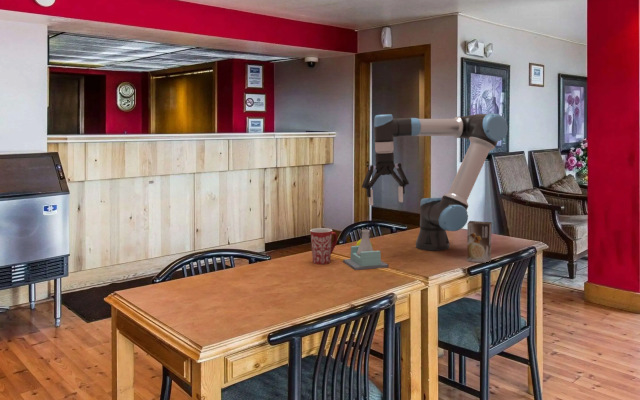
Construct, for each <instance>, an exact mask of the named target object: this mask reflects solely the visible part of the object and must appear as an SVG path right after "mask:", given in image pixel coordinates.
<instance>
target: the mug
mask: <svg viewBox="0 0 640 400" xmlns="http://www.w3.org/2000/svg"><path fill="white" fill-rule="evenodd" d="M309 231H310V241H311V254H312V255H311V257H312V263H313V264H316V265H326V264H330V263H331V258H332V256H331V255H332V253H333V252H334V249H335V248H336V245H337V242H338V235H337V232H335V231H333V229H331V228H327V227H317V228H311V229H310V230H309ZM332 236H333V240H332ZM332 241H333V242H332Z"/></svg>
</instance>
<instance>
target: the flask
mask: <svg viewBox="0 0 640 400" xmlns="http://www.w3.org/2000/svg"><path fill="white" fill-rule="evenodd" d="M360 239H361V242H360V245H359V248H358V251H357V253H356V254H357V255H359V256H360V252H366V251H374V249H373V244H372V245H371V243H372V241H371V239H370V230H369V229H362V230H361V238H360ZM370 241H371V242H370Z"/></svg>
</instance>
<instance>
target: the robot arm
mask: <svg viewBox="0 0 640 400" xmlns="http://www.w3.org/2000/svg"><path fill="white" fill-rule="evenodd" d="M373 120H374V123H373V127H374V146H375V147H374V149H375V152H376V153H375V155H374V156H375V157H374V158H375V165H372V164H370V165H368V171H367V172H366V174H365V177H364V180H363V183H362V185H361V188H363V189H365V190H366V191H365V192H366V197H367V198H368V205H370V206H374V193H373V192H374V190H373V189H372V188H373V186H374V185H375V184H376V182H377V181H378V179H379V178H380V177H381V176H386V175H387V176H391V177H392V178H393V179H394V180H395V181H396V183H398V185H399V186H398V187H397V190H398V192H397V193H398V202H399V203H404V195H405V194H406V193H405V187H406V186H407V185H410V183H409V180H408V179H407V176H406V174H405V172H404V170H403V168H402V163H401V162H396V163H395V153H394V150H395V149H394V138H402V137H435V136H436V137H439V136H440V137H441V136H442V137H445V136H446V137H452V136H453V137H454V138H455V139H468V140H469V142H470V144H469V146H468V148H467V150H466V153H465V155H464V158H463V160H462V162H461V164H460V165H459V168H458V171H457V172H456V175H455V177H454V179H453V182H452V184H451V186H450V188H449V190H448V192H447V193H445V194H443V195H442V197H426V198H425V197H423V198H421V200H420V203H419V204H420V205H419V208H420V209H419V211H420V213H419V232H418V236H417V237H416V241H415V247H416V248H417V249H418V250H423V251H432V252H433V251H438V252H439V251H446V250H449V249H450V240H449V237H448V234H447V232H457V231H459V230H462V229H464V227H465V226H466V225H467V224H468V220H469V215H468V211H467V210H468V208H469V203H468V199H469V198H470V195H471V192H472V190H473V188H474V187H475V183H476V182H477V180H478V177H479V175H480V173H481V170H482V168H483V166H484V164H485V162H486V159H487V157H488V155H489V153H490V151H492V150H494V149H495V147H496V146H497V144H498V142H500V141H502V140H503V139H505V137H506V136H507V135H508V129H509V128H508V123H507V120H506V119H505V117H503V116H502V115H501V114H499V113H492V112H490V113H475V114H469V115H464V116H455V117H453V118H417V117H406V118H405V117H404V118H403V117H402V118H401V117H400V118H394V117H393V114H391V113H389V114H388V113H387V114H376V115H375V116H374V119H373ZM395 169H396V171H397V173H398V175H399V176H398V175H397V173H396V172H395V171H394V170H395ZM375 170H376V171H375ZM374 171H375V173H374ZM373 173H374V175H373Z"/></svg>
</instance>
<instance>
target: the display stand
mask: <svg viewBox="0 0 640 400" xmlns="http://www.w3.org/2000/svg"><path fill="white" fill-rule="evenodd" d="M358 248H359V246H356V245H352V246H350V258H347V259H342V261H343V263H344V264H346V265H347V266H348V267H350V268H351V269H352V270H354V271H360V270H361V271H362V270H372V269H384V268H385V269H386V268H389V264H387V263H386V262H384V261H383V260H382V258H381V257H382V255H381V254H382V253H381V250H373V251H366V252H360V256H359V255H357V254H356V253H357V251H358Z"/></svg>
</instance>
